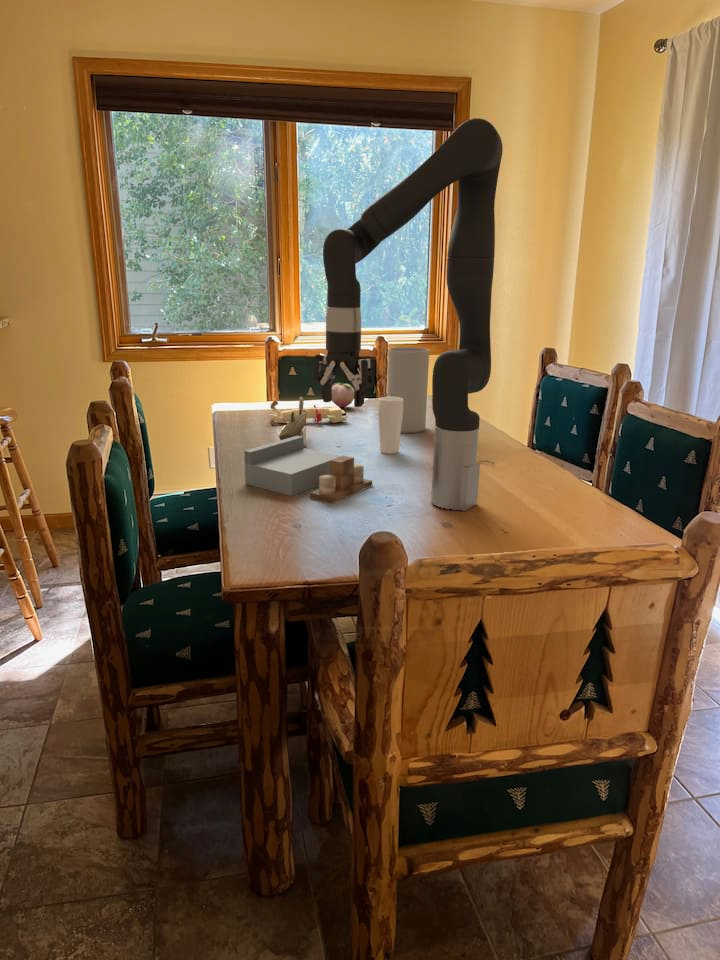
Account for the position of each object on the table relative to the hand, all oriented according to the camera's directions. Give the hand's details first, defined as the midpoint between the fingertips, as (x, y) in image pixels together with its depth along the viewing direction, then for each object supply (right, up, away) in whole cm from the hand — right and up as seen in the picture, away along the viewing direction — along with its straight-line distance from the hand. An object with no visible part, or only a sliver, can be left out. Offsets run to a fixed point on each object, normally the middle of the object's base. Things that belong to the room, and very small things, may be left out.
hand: (342, 404), depth 151 cm
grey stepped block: (-12, -17, +13) cm, 24 cm away
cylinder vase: (+18, -1, +67) cm, 69 cm away
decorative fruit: (-2, +9, +97) cm, 97 cm away
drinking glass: (+12, -9, +40) cm, 42 cm away
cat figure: (-13, +2, +73) cm, 74 cm away
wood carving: (-15, -7, +43) cm, 46 cm away
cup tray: (0, -20, +6) cm, 20 cm away
